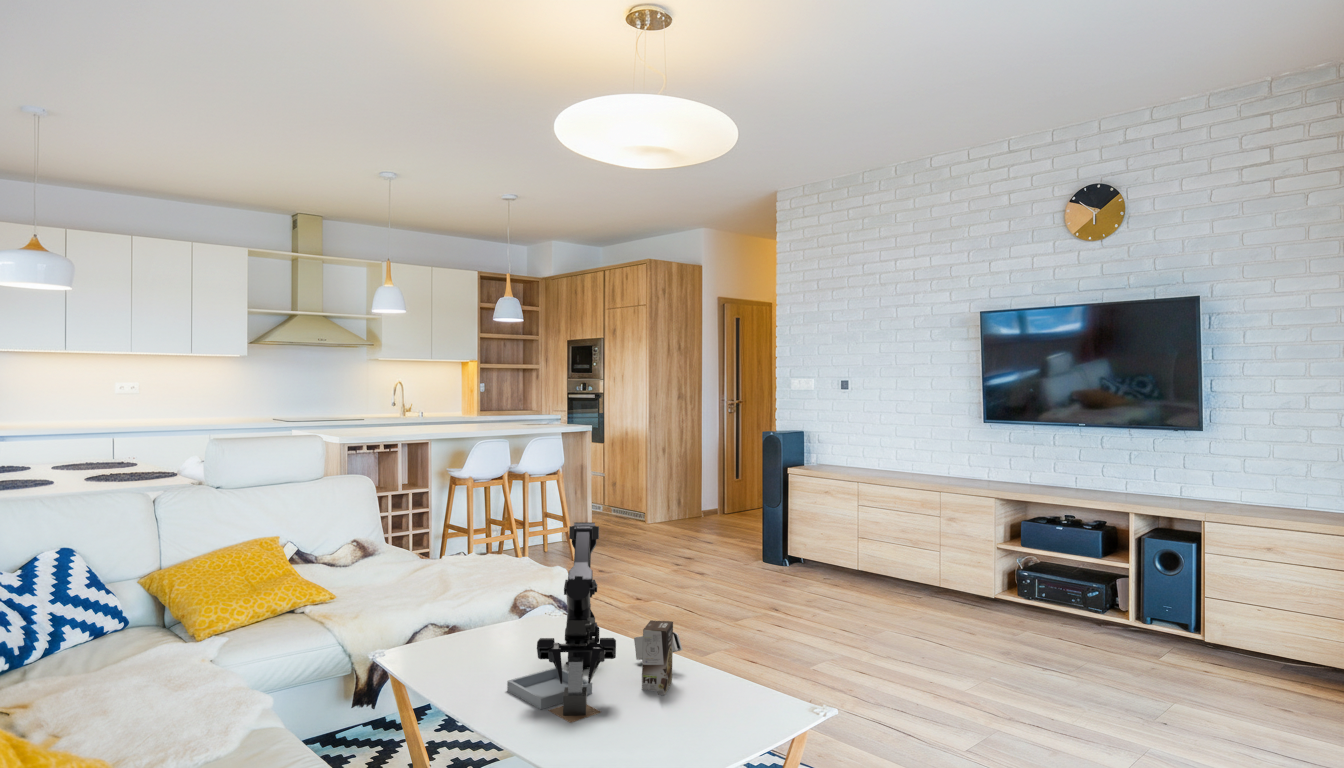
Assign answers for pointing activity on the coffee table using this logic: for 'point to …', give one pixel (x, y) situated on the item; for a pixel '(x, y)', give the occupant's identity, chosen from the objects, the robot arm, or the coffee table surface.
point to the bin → (542, 688)
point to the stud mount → (559, 712)
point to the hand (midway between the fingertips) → (575, 683)
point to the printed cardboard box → (639, 645)
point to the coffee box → (657, 656)
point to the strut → (575, 690)
